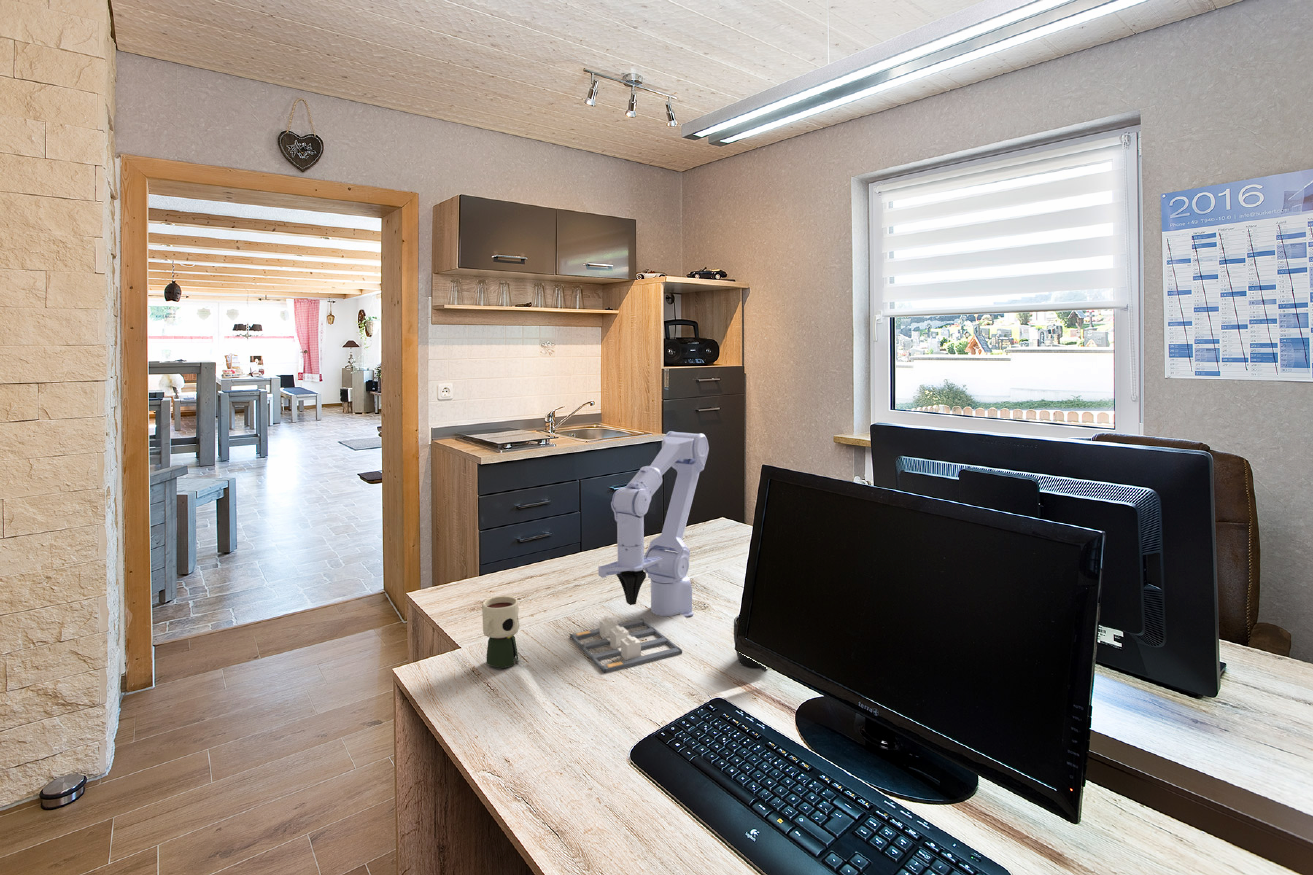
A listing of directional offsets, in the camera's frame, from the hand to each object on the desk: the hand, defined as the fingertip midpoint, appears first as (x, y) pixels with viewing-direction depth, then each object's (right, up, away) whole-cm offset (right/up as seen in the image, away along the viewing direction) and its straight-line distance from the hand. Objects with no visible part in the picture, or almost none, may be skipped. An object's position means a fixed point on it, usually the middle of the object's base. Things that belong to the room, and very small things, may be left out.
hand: (631, 603), depth 147 cm
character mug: (-26, -10, -11) cm, 29 cm away
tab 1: (-5, -7, -2) cm, 8 cm away
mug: (+25, -9, -11) cm, 29 cm away
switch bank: (-1, -9, -6) cm, 10 cm away
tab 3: (0, -8, -11) cm, 14 cm away
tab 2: (-2, -7, -6) cm, 10 cm away
